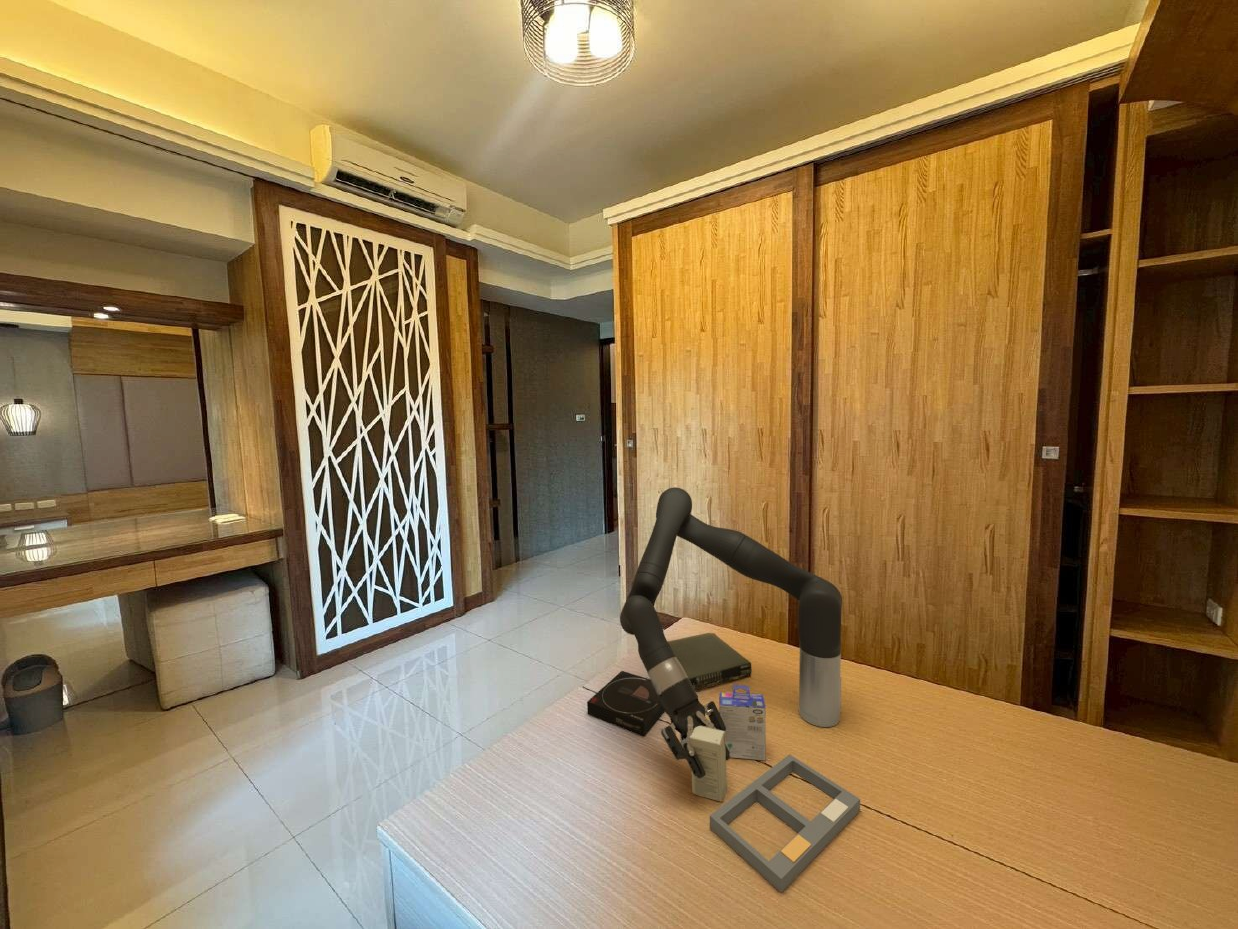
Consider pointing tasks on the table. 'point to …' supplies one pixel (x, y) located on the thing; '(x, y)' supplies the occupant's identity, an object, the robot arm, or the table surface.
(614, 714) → the portable cd player
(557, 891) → the table surface
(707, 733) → the skincare box
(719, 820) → the grey divided frame
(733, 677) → the network switch
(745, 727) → the ink cartridge box
